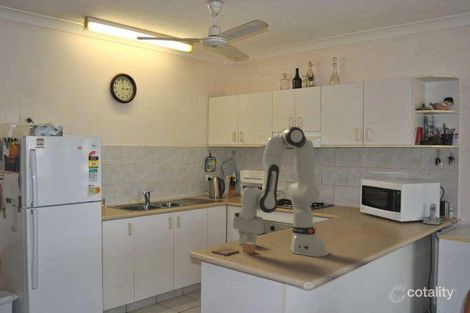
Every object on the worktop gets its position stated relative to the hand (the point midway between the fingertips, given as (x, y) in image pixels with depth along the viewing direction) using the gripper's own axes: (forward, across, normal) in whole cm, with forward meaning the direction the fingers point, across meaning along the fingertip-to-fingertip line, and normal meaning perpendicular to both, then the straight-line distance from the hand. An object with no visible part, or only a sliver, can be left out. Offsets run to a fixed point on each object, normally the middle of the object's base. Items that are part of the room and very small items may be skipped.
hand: (247, 239), depth 230 cm
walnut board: (+8, +8, +9) cm, 14 cm away
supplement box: (+7, +11, -14) cm, 19 cm away
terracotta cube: (+7, -1, -1) cm, 7 cm away
